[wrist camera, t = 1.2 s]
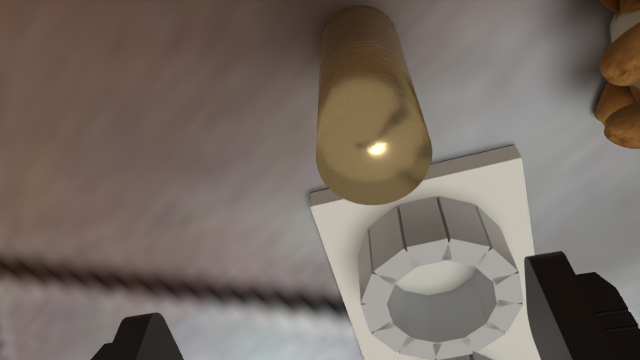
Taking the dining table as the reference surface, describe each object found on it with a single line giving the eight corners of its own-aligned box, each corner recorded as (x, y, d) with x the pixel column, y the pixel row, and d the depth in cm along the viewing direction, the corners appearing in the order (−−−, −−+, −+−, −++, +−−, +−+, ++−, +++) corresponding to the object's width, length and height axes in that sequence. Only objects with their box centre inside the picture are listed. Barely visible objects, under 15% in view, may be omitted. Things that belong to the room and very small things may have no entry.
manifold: (310, 192, 36) (307, 249, 31) (514, 144, 34) (544, 197, 29) (391, 423, 46) (398, 491, 42) (548, 396, 45) (574, 464, 40)
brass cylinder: (388, -4, 30) (419, 90, 19) (405, 70, 32) (441, 191, 21) (311, 18, 30) (301, 120, 20) (332, 89, 32) (333, 215, 22)
